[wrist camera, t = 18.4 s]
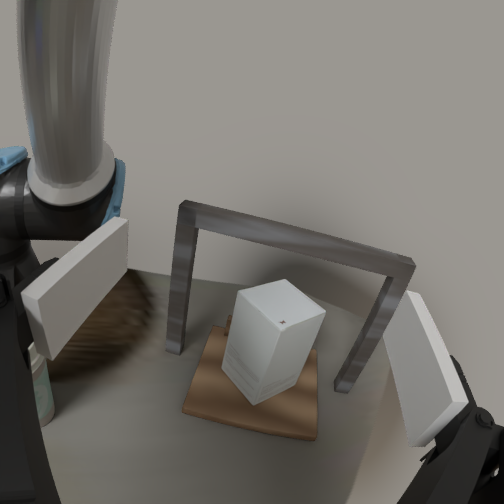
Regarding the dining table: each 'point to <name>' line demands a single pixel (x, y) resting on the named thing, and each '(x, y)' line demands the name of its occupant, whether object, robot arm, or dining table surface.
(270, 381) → the supplement box
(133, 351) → the dining table surface
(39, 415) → the coffee cup
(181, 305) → the keeper arch
